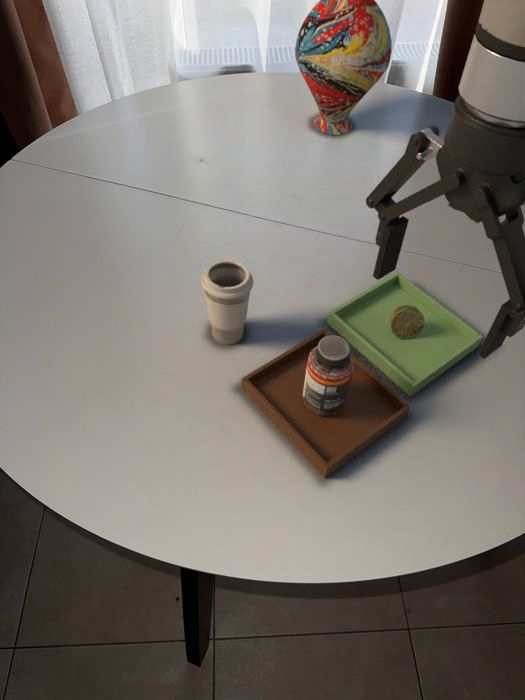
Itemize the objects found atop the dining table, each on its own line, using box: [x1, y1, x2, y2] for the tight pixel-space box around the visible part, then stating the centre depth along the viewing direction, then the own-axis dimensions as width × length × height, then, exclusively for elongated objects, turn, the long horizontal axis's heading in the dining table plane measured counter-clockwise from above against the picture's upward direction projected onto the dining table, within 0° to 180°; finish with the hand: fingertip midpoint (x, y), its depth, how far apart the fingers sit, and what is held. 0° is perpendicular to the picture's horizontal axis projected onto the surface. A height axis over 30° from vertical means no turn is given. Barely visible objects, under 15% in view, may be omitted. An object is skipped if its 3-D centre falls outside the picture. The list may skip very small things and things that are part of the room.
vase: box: [294, 0, 393, 136], centre depth 115 cm, size 19×19×30 cm
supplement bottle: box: [303, 334, 355, 416], centre depth 75 cm, size 6×6×11 cm
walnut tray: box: [240, 328, 412, 479], centre depth 79 cm, size 17×15×2 cm
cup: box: [200, 258, 255, 345], centre depth 82 cm, size 7×7×12 cm
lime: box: [390, 305, 424, 339], centre depth 86 cm, size 4×5×5 cm
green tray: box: [326, 271, 484, 397], centre depth 87 cm, size 17×15×2 cm
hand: (433, 309), depth 58 cm, fingers open, 13 cm apart
